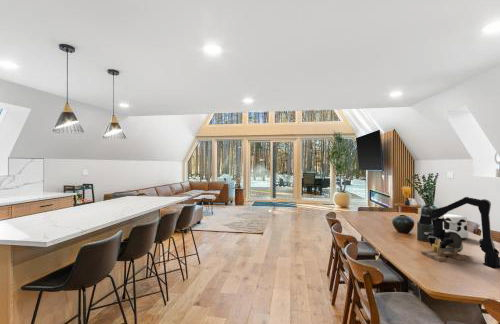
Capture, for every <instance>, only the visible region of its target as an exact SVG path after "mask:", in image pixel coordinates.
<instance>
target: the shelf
mask: <svg viewBox="0 0 500 324" xmlns="http://www.w3.org/2000/svg"><path fill="white" fill-rule="evenodd" d="M443 252H444V253H443ZM420 253H421V255H422V256H425V257H427V258H430V259H432V260H435V261H437V262H447V259H448V258H452V259H454V260H456V261H466V260H467V256H465V255H462V254H460V253H459V252H458V248H455V247H452V248H438V253H437V251H432V249H431V250H429V249H428V250H421V251H420ZM446 256H448V258H447V257H446Z"/></svg>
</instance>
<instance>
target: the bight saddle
mask: <svg viewBox="0 0 500 324" xmlns="http://www.w3.org/2000/svg"><path fill="white" fill-rule="evenodd" d="M438 248H441V247H440V243H435V244H432V246H431V250H432V251H437V253H438ZM443 253H444V252H443Z"/></svg>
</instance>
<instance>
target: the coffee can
mask: <svg viewBox="0 0 500 324" xmlns="http://www.w3.org/2000/svg"><path fill="white" fill-rule="evenodd" d="M448 233H450V234H451V235H450V236H449V237H448V238H451V239H453V240H454V243H451V244H448V245H447V246H446V248H452V247H455V248H458V253H461V252H462V251H463V250H464V245H463V239H462V238H461V236H460V235H459V234H457V233H455V232H448ZM443 238H446V237H443Z"/></svg>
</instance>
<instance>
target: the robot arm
mask: <svg viewBox="0 0 500 324" xmlns="http://www.w3.org/2000/svg"><path fill="white" fill-rule="evenodd" d="M466 204H467V205H471V206H474V207H477V208H478V210H479V211H478V212H479V213H480V219H481V231H482V238H480V239H479V240H478V242H479V248H480V250H481V251H482V252H483V253H484V256H483V258H484V259H483V260H484V261H483V262H484V263H483V262H482V265H484V266H487V267H489V268H493V269H497V268H498V269H499V268H500V256H499V255H500V251H499V250H498V249H496V248H495V244H494V241H493V238H492V232H491V220H490V218H491V217H490V212H491V208H492V203H491V201H490V200H489V199H485V198H484V199H479V198H473V197H468V196H465V197H463V198H461V199H459V200H457V201H454V202H452V203H450V204H448V205H445V206H441V207H438V208H434V209H433V210H432V211H431V214H430V215H429V216H428V215H423V214H421V215H420V217H419V225H420V226H427V227H430V226H431V225H432V227H431V229H430V230H432V231H425V232H424V233H423V237H425V238H426V239H427V241H428V243H429V244H430V246H431V247H432V244H436V240H440V241H439V244H440V247H441V248H446V246H447V245H448V244H451V243H454V240H453V239H451V238H448V237H449V236H450V235H451V234H450V233H448V232H445V229H443V226H444V222H446V221H447V220H446V219H445V218H444V215H447V214H448V213H449V212H450V211H453V210H455V209H457V208H460V207H462V206H465V205H466ZM441 217H442V218H441ZM443 237H446V238H443Z"/></svg>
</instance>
